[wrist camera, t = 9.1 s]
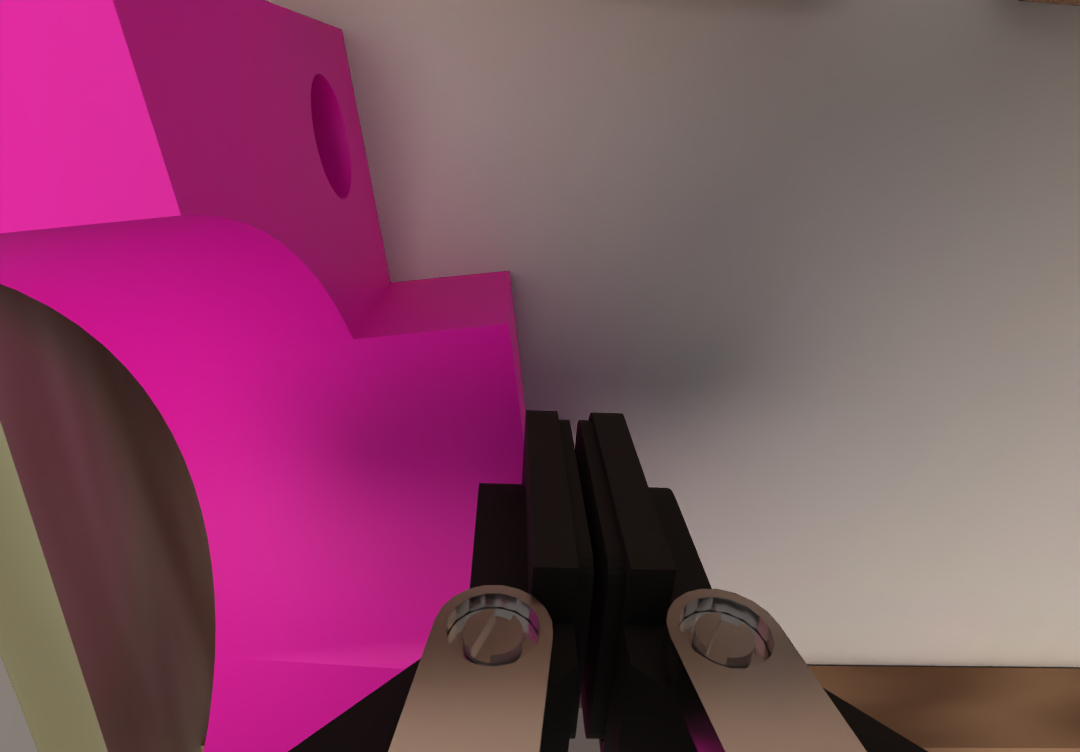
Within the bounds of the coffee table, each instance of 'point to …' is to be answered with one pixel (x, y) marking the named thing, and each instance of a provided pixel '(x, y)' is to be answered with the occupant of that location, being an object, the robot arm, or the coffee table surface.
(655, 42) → the coffee table surface
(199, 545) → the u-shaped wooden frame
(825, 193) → the coffee table surface
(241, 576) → the toy block
